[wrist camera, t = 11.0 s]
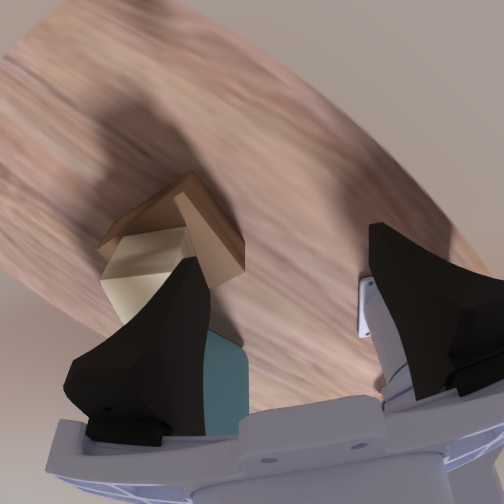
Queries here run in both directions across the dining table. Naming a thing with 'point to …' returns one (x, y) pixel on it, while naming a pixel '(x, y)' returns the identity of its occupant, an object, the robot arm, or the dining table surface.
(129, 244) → the birch cube
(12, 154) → the dining table surface
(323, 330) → the dining table surface
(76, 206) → the dining table surface
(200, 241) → the walnut base block
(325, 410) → the robot arm
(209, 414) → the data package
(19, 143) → the dining table surface
